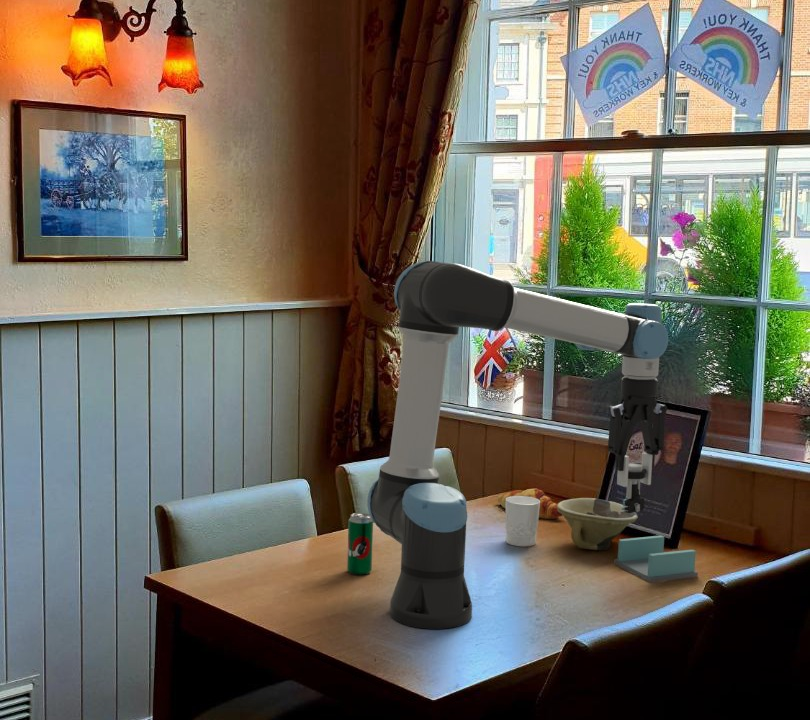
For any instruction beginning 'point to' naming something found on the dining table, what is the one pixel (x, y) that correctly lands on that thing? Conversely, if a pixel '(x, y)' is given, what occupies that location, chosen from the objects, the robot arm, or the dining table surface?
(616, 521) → the bowl
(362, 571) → the soda can
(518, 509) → the white cup
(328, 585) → the dining table surface
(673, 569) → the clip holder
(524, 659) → the dining table surface
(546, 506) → the croissant
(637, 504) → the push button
